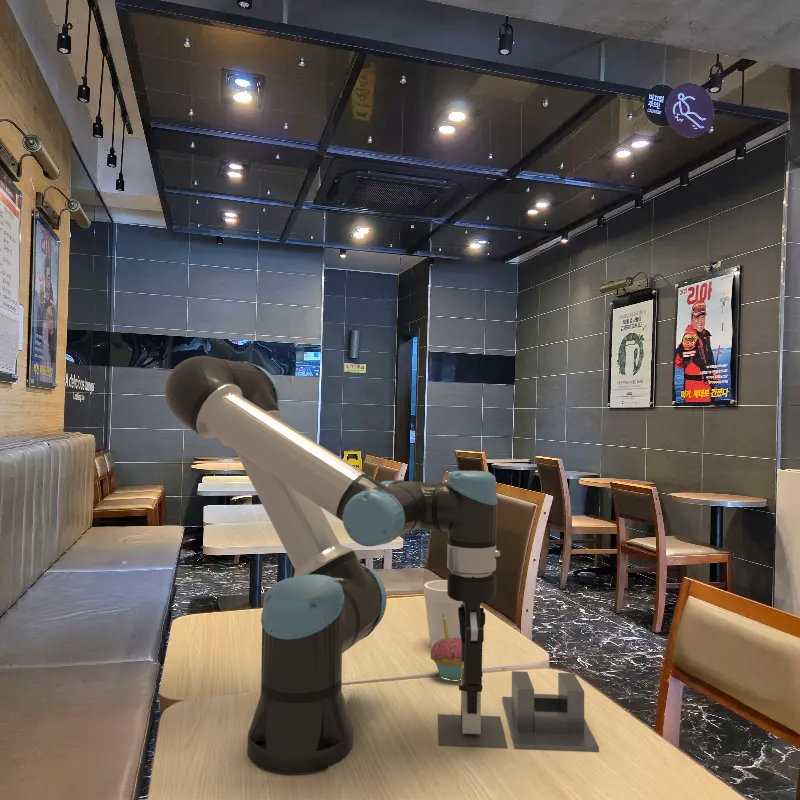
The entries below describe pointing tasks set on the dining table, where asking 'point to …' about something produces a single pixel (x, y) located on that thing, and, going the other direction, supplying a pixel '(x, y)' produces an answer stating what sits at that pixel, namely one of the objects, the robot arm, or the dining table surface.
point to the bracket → (548, 716)
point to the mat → (454, 737)
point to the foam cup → (441, 611)
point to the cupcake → (447, 655)
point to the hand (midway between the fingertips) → (470, 726)
